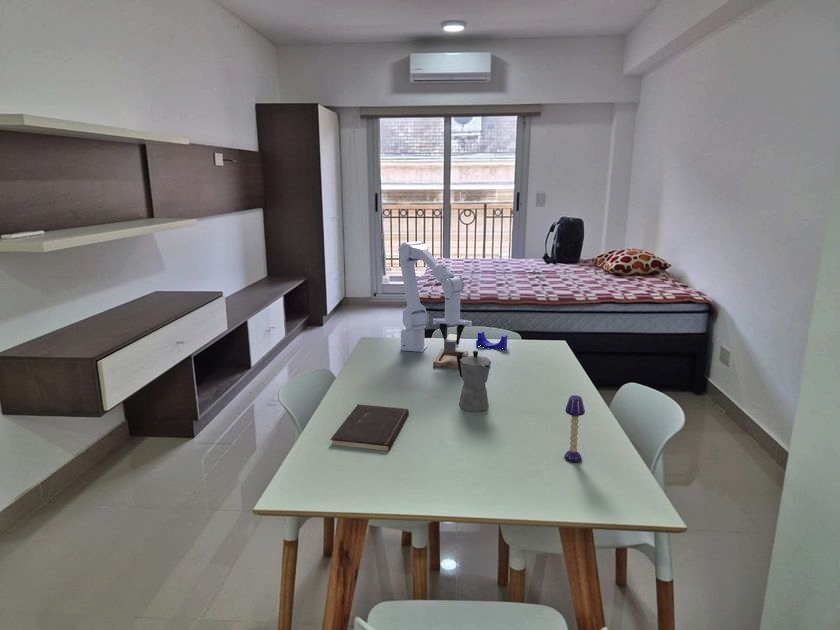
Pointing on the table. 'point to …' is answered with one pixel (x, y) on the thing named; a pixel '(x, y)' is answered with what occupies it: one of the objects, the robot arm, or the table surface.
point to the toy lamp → (574, 426)
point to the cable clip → (487, 344)
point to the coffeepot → (473, 381)
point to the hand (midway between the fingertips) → (451, 343)
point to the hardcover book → (371, 427)
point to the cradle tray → (447, 359)
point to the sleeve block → (450, 343)
